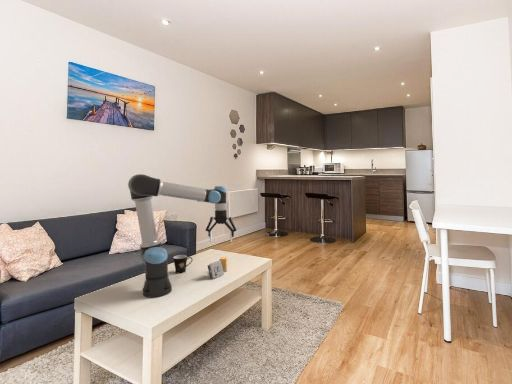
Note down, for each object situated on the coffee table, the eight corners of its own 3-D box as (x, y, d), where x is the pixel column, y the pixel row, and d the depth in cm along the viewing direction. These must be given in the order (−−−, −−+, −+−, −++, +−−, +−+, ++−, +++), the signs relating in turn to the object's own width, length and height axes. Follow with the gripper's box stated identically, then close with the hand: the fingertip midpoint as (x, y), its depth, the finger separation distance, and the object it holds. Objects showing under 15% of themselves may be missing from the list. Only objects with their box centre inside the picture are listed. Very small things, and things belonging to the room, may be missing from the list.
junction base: (220, 272, 185) (220, 270, 185) (219, 270, 189) (219, 267, 189) (227, 271, 186) (227, 269, 186) (226, 269, 190) (226, 267, 190)
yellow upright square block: (227, 267, 190) (227, 257, 189) (226, 269, 185) (226, 259, 185) (221, 267, 190) (220, 257, 189) (219, 269, 186) (219, 259, 185)
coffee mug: (172, 274, 183) (171, 258, 182) (175, 269, 192) (175, 255, 191) (190, 273, 183) (190, 258, 183) (193, 269, 192) (192, 254, 191)
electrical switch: (213, 279, 173) (211, 264, 173) (207, 278, 176) (206, 263, 176) (224, 275, 180) (222, 260, 180) (218, 274, 183) (217, 259, 183)
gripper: (240, 209, 188) (240, 240, 189) (203, 208, 190) (204, 240, 191) (238, 210, 180) (239, 243, 182) (200, 210, 183) (201, 242, 184)
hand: (221, 241), depth 187 cm, fingers open, 13 cm apart
